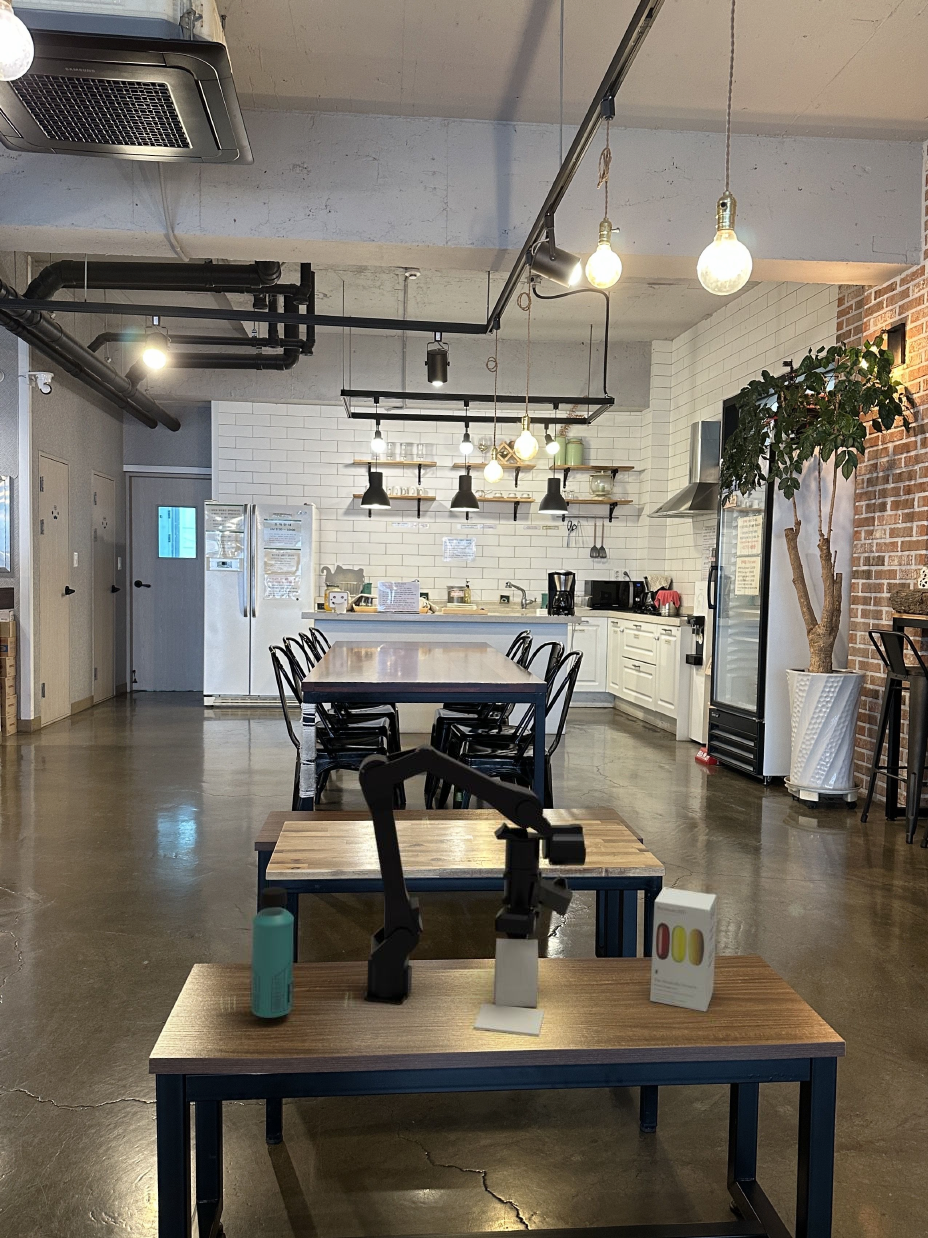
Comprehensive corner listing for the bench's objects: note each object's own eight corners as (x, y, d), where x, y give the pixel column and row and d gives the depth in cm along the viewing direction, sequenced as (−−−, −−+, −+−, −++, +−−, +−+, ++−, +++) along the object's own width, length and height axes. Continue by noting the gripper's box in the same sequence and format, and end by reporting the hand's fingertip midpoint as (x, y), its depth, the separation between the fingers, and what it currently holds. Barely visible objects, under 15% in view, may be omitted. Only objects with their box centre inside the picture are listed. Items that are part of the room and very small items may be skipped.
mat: (473, 1029, 139) (473, 1026, 139) (482, 1006, 148) (482, 1003, 148) (538, 1037, 137) (538, 1034, 137) (544, 1013, 146) (544, 1010, 146)
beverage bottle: (292, 1027, 138) (295, 895, 138) (247, 1029, 137) (251, 896, 137) (293, 1008, 145) (296, 882, 144) (250, 1010, 143) (253, 883, 143)
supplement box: (648, 1002, 151) (651, 900, 151) (658, 981, 160) (661, 885, 160) (708, 1013, 147) (711, 909, 147) (714, 991, 156) (717, 893, 156)
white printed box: (537, 1006, 147) (539, 943, 148) (495, 1005, 147) (497, 942, 148) (534, 999, 151) (536, 937, 152) (493, 998, 150) (495, 936, 151)
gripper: (566, 885, 142) (563, 985, 142) (573, 854, 160) (571, 943, 160) (495, 879, 144) (492, 978, 144) (510, 850, 162) (508, 937, 162)
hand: (519, 958), depth 153 cm, fingers closed
